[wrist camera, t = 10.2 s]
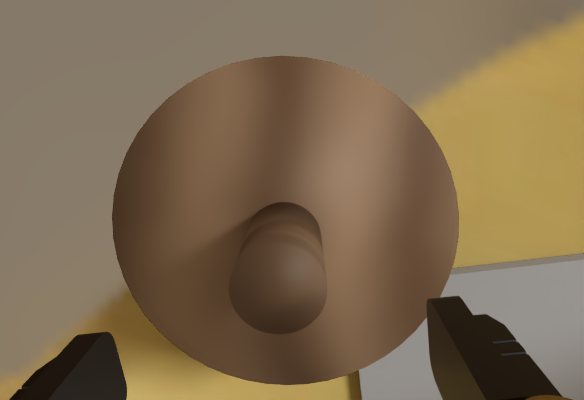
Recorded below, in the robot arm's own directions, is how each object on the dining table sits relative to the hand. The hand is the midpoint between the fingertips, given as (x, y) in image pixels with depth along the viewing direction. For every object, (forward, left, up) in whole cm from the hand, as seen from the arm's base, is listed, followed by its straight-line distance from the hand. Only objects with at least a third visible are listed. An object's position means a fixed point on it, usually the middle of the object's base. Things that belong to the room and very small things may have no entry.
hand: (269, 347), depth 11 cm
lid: (0, 0, -9) cm, 9 cm away
